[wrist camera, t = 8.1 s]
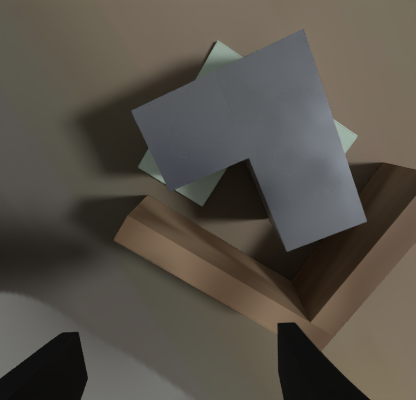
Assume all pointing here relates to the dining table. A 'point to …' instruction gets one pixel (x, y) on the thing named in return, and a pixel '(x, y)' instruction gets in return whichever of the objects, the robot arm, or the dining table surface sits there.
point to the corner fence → (307, 275)
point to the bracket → (261, 139)
